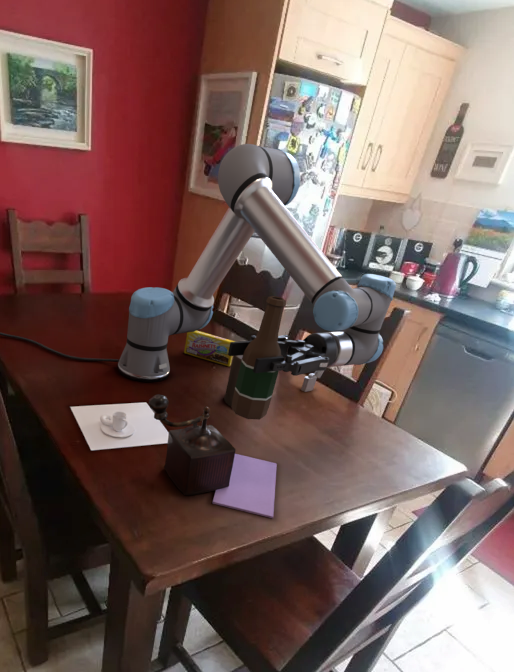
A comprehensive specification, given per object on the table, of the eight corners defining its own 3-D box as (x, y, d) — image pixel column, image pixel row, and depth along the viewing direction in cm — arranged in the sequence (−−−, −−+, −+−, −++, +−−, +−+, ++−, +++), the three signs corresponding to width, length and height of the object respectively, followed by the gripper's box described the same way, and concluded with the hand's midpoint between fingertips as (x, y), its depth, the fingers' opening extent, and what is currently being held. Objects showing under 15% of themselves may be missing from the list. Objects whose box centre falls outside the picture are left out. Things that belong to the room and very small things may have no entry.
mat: (212, 503, 96) (212, 501, 95) (224, 452, 112) (225, 451, 112) (272, 518, 95) (273, 516, 94) (276, 465, 111) (276, 463, 111)
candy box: (183, 353, 162) (187, 329, 158) (185, 352, 164) (189, 327, 159) (229, 367, 158) (234, 342, 154) (231, 365, 160) (236, 340, 155)
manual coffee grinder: (204, 459, 108) (216, 384, 99) (230, 487, 100) (245, 409, 91) (139, 470, 102) (145, 392, 92) (161, 501, 94) (170, 419, 84)
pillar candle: (219, 404, 134) (231, 352, 126) (228, 391, 142) (239, 342, 134) (253, 414, 132) (267, 362, 124) (261, 400, 140) (274, 351, 132)
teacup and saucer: (95, 420, 116) (96, 405, 114) (127, 418, 119) (129, 403, 117) (105, 440, 109) (107, 424, 107) (139, 437, 113) (141, 421, 110)
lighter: (304, 392, 150) (312, 367, 146) (300, 389, 151) (308, 365, 147) (319, 388, 154) (327, 365, 150) (315, 386, 155) (322, 362, 151)
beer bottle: (265, 423, 100) (298, 306, 88) (228, 415, 101) (255, 297, 89) (266, 408, 107) (297, 297, 95) (232, 401, 108) (257, 290, 96)
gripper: (354, 386, 101) (271, 398, 90) (289, 349, 115) (210, 355, 104) (367, 352, 97) (281, 359, 86) (298, 317, 111) (216, 320, 100)
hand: (242, 357), depth 95 cm, fingers closed on beer bottle, 8 cm apart
